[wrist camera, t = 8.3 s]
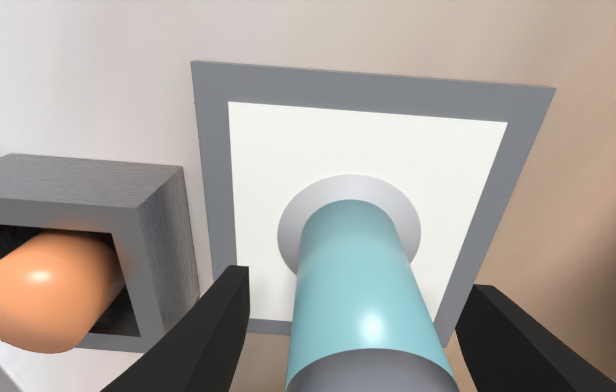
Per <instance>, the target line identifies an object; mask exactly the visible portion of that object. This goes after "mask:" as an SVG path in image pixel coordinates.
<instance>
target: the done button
mask: <svg viewBox="0 0 616 392" xmlns="http://www.w3.org/2000/svg"><path fill="white" fill-rule="evenodd" d="M124 285H125V279H124V275H123V272H122V268H121V265H120V261H119V258H118V256H117V255H116V254H115V253H114V252H113V251H112V250H111V249H110V248H109V247H108V246H107V245H106V244H104V243H103V242H102V241H100V240H99V239H97V238H95V237H93V236H91V235H89V234H87V233H84V232H81V231H78V230H67V229H54V228H51V229H47V230H44V231H42V232H40V233H39V234H37V235H36V236H34V237H33V238H31V239H30V240H28V241H27V242H26V243H24V244H23V245H21V246H20V247H18V248H17V249H15V250H14V251H12V252H11V253H9V254H8V255H7V256H5V257H4V258H2V259H1V260H0V340H2V341H4V342H6V343H8V344H10V345H12V346H15V347H18V348H21V349H24V350H27V351H32V352H37V353H47V354H53V353H62V352H66V351H69V350H71V349H73V348H74V347H76V346H77V345H78V344H79V343H80V341H81V340H82V339H83V338H84V336H85V335H86V334H87V333H88V331H89V330H90V329H91V328H92V326H93V325H94V324H95V323H96V321H97V320H98V319H99V318H100V316H101V315H102V314H103V313H104V311H105V310H106V309H107V308H108V306H109V305H110V304H111V303H112V301H113V300H114V299H115V298H116V296H117V295H118V294H119V293H120V291H121V290H122V289H123V287H124Z"/></svg>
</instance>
